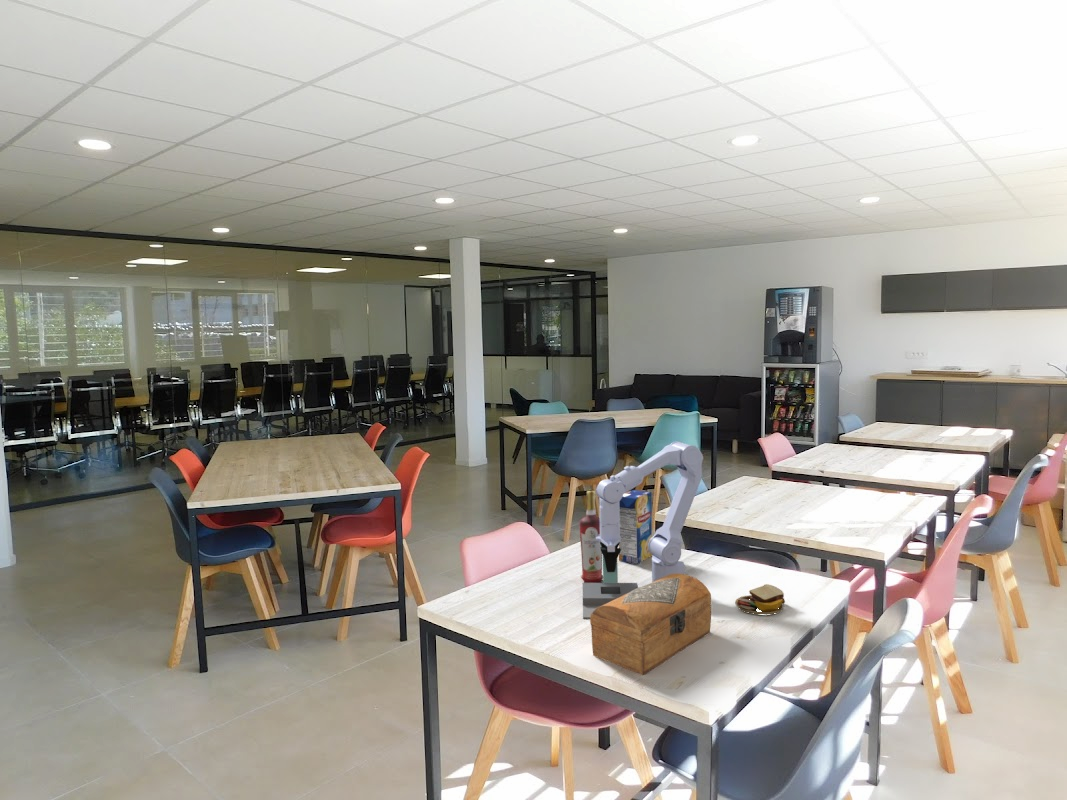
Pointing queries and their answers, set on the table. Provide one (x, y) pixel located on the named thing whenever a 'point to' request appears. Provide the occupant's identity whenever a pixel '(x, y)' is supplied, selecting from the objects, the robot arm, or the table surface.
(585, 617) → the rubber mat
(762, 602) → the toy sandwich meal
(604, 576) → the teal block
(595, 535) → the liquor
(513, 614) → the table surface
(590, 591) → the pocket board
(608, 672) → the table surface
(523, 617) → the table surface
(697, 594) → the wooden box
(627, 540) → the beverage box
